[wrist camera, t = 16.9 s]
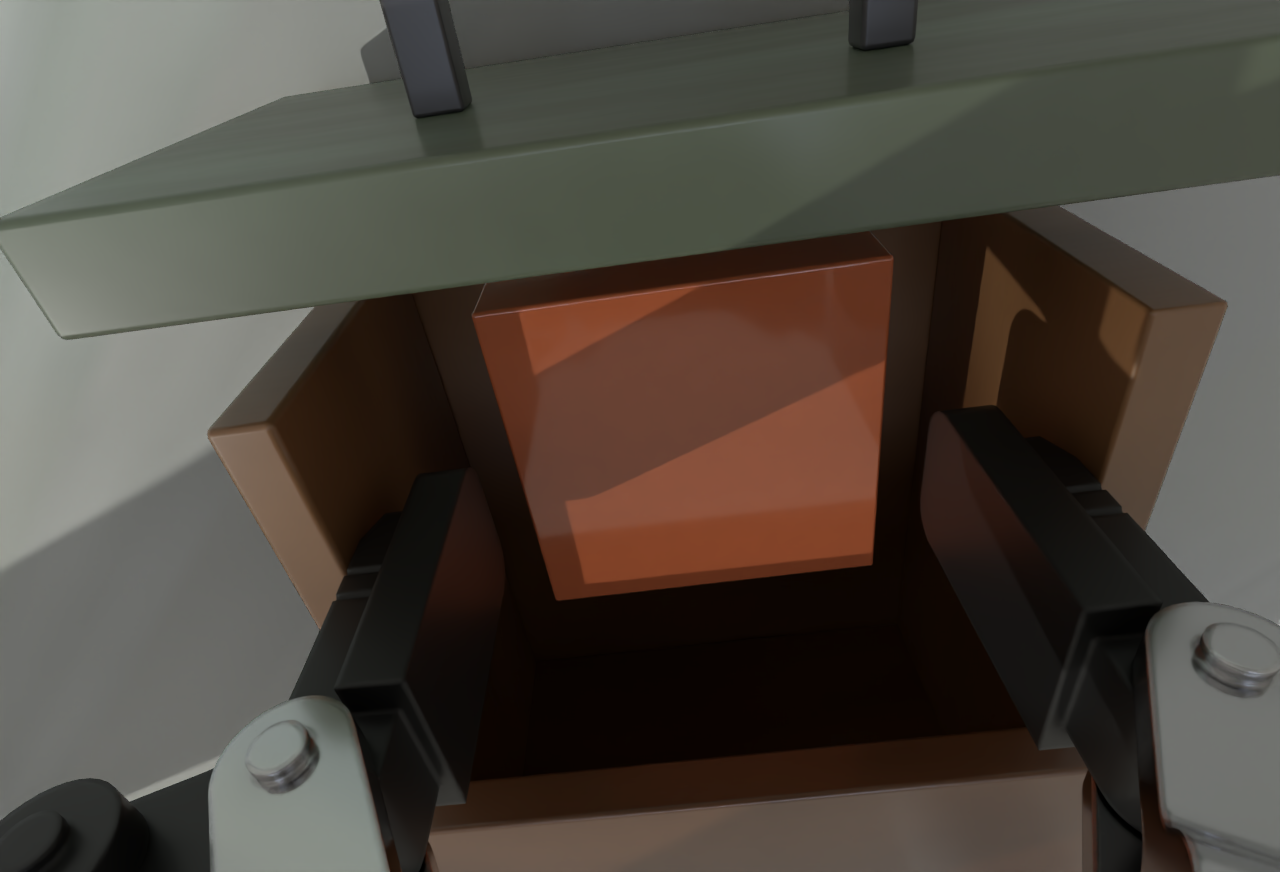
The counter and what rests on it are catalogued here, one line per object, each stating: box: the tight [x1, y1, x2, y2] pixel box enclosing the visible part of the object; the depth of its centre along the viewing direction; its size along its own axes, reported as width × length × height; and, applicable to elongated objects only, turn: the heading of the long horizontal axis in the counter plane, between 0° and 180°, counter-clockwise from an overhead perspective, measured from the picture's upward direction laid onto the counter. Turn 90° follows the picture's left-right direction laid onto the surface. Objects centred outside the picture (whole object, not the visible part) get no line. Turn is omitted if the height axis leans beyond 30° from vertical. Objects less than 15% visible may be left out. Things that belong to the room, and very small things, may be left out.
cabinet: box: [428, 727, 1088, 872], centre depth 18 cm, size 16×14×9 cm
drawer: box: [0, 0, 1280, 781], centre depth 11 cm, size 20×12×7 cm, turn 7°
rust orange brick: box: [472, 231, 894, 601], centre depth 12 cm, size 6×6×3 cm
